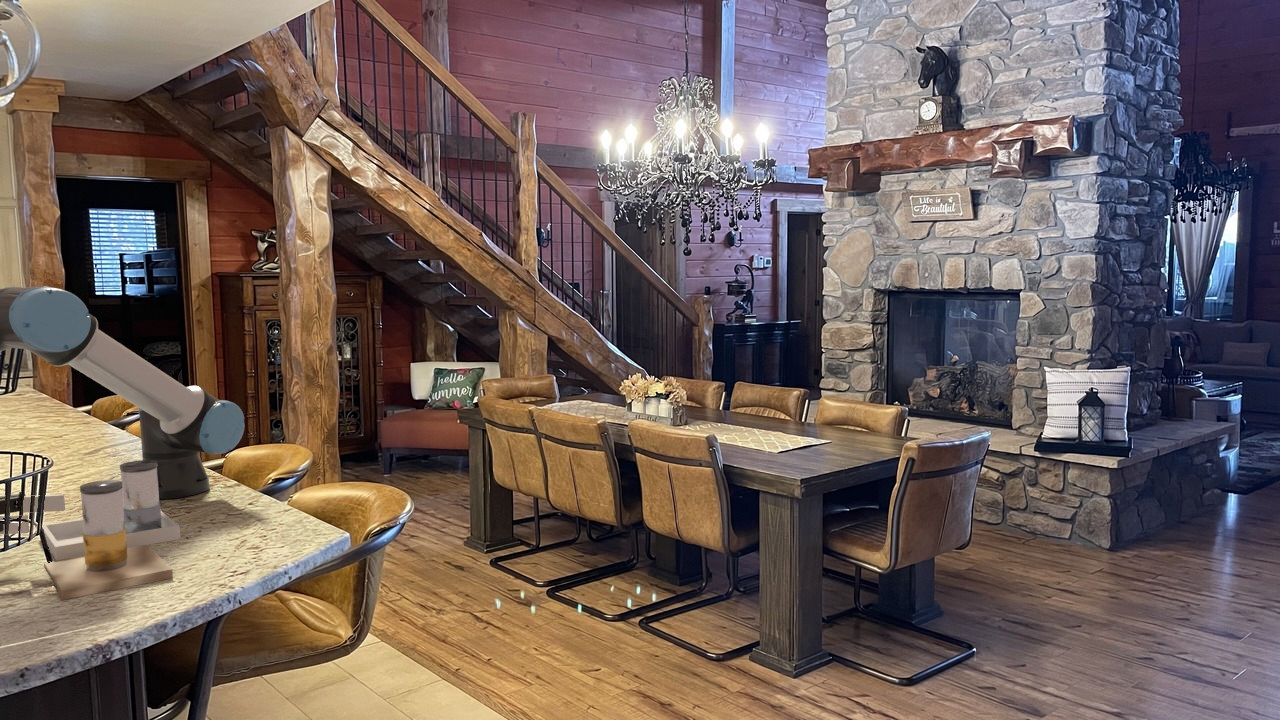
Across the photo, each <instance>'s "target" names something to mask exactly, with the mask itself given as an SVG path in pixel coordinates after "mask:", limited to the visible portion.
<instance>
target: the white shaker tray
mask: <svg viewBox="0 0 1280 720" xmlns="http://www.w3.org/2000/svg"><path fill="white" fill-rule="evenodd" d="M161 524H162V528H158V529H152V530H146V531H140V532H134V533H128V534H126V541H127V548H130V547H136V546H141V545H148V546H150V545H151V546H152V545H156V544H162V543H167V542H172V541H178V540H181V527H180V525H179V524H178V523H177V522H176V521H174V520H173V519H172V518H170V516H168V515H167V514H166V513H164V511H162V510H161ZM42 525H43V529H44V532H45V537H46V540H47V543H48V547H49V549H50V551H49V552H50V554H51V555H52V556H53V559H54V561H57V560H63V559H68V558H74V557H79V556H84V543H83V533H84V528H83V518H81V519H80V518H79V519H73V520H66V521H58V522H55V523H54V522H53V523H47V524H42ZM49 549H48V550H49Z"/></svg>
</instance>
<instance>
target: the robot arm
mask: <svg viewBox="0 0 1280 720" xmlns="http://www.w3.org/2000/svg"><path fill="white" fill-rule="evenodd" d="M97 319H98V318H96V317H95V316H94V315H93V314H91V313H90V312H89V309H88V308H87V305H86V304H85V303H84V302H83V301H82V300H81V298H79V297H78V296H77V295H75V294H74V293H72V292H70V291H68V290H64V289H60V288H57V287H52V286H39V287H21V286H12V287H11V286H10V287H4V288H0V353H1V352H3V351H7V350H11V349H21V350H27V351H29V352H30V353H33V354H34V355H36V356H37V357H39V358H40V359H42V360H44V361H46V362H47V363H49V364H51V365H53V366H54V367H63V366H68V365H69V366H70V367H72V368H73V369H74V370H76V371H79V372H80V373H82V374H83V375H85V376H86V377H88V378H90V379H92V380H93V381H95V382H96V383H98V384H100V385H101V386H102V387H104V388H106V389H108V390H109V391H111V392H113V393H114V394H116V395H118V396H119V397H121V398H122V399H124V400H125V401H127V402H129V403H131V404H133V406H136V407H137V408H138V415H139V426H140V440H141V441H140V442H141V454H142V457H141V458H142V460H154V461H157V475H158V491H159V500H168V499H179V498H184V497H185V498H186V497H189V496H194V495H198V494H201V493H205V492H206V491H208V490H209V489H210V479H209V476H208V473H207V471H206V469H205V466H204V464H203V462H202V459H201V457H200V452H201V453H206V454H208V455H221V454H222V455H223V454H226V453H229V452H230V451H231V450H233V449H235V447H236V446H237V445H238V444H239V442H240V441H241V440H242V437H243V435H244V432H245V428H246V427H245V416H244V413H243V411H242V409H241V407H240V406H239V405H237V404H236V403H235V402H232V401H229V400H226V399H224V400H223V399H221V400H220V399H218V398H216V397H215V396H214V395H212V394H210V393H209V392H207V391H206V390H204V389H203V388H201V387H200V386H197V385H189V386H185V385H183V384H182V383H181V382H179V381H177V380H176V379H174V378H173V377H172V376H170V375H168V374H167V373H165V372H164V371H162V370H161V369H159V368H158V367H156V366H155V365H153V364H152V363H151V362H148V360H145V359H144V358H143V357H141V356H140V355H138V354H136V353H135V352H133V351H132V350H131V349H129V348H127V347H126V346H125V345H123V344H122V343H121V342H118V341H117V340H115V339H114V338H113V337H111V336H109V335H108V334H106V333H105V332H104V331H102V330H101V329H99V322H98V320H97ZM21 492H22V491H18V493H16V494H10V495H11V497H10V513H9V514H14V513H19V512H21V511H20V506H21ZM44 495H45V494H44ZM5 496H6V495H0V519H3V518H5V515H6V514H5ZM31 496H32V495H27V494H26V493H25V492H24V500H23V513H31V512H30V502H31ZM34 496H35V506H34V512H33V513H38V512H37V508H38V496H39V495H34ZM65 500H66V499H65V494H46V495H45V501H44V510H43V512H42V513H46V512H47V513H49V512H63V511H66V501H65ZM1 515H4V516H1ZM8 516H9V517H10V518H14V519H17V518H19V516H20V515H8ZM21 516H22V518H23V519H28V520H29V515H27V514H26V515H25V514H24V515H21ZM28 533H30V525H29V521H28V522H22V523H21V531H20V534H28ZM16 534H17V535H19V534H18V523H10V524H9V531H8V534H7V535H16ZM0 535H6V534H5V525H4V524H2V523H0Z"/></svg>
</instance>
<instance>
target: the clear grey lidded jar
mask: <svg viewBox="0 0 1280 720" xmlns="http://www.w3.org/2000/svg"><path fill="white" fill-rule="evenodd" d="M119 471H120V476H121V477H120V478H121V479H120V481H121V482H122V486H123V487H122V496H123V511H124V526H125V528H126V534H128V533H134V532H140V531H146V530H152V529H158V528H162V524H161V511H162V509H161V502H160V499H159V491H158V475H157V461H154V460H143V459H142V460H141V459H139V460H133V461H127V462H123V463H121V464H119Z"/></svg>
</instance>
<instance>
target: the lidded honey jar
mask: <svg viewBox="0 0 1280 720" xmlns="http://www.w3.org/2000/svg"><path fill="white" fill-rule="evenodd" d="M122 487H123V486H122V481H121V480H118V479H117V480H116V479H114V480H113V479H110V480H108V479H107V480H97V481H91V482H87V483H84V484H81V485H80V486H79V492H80V496H81V497H80V498H81V512H82V513H81V514H82V519H83V528H84V533H83V543H84V557H85V564H86V569H87V570H88V571H92V572H103V571H110V570H115V569H118V568H121V567H123V566H125V565H126V564H127V558H128V556H127V541H126V528H125V526H124V511H123V496H122Z"/></svg>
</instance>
